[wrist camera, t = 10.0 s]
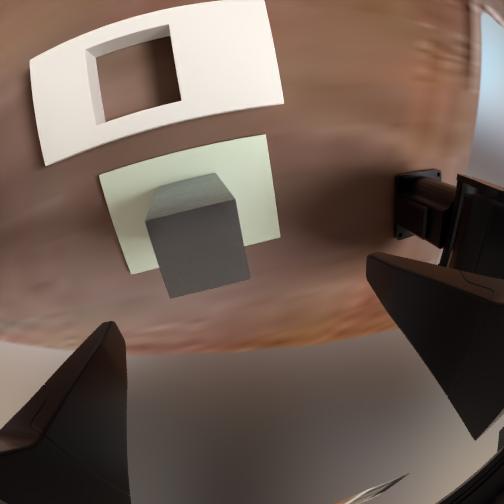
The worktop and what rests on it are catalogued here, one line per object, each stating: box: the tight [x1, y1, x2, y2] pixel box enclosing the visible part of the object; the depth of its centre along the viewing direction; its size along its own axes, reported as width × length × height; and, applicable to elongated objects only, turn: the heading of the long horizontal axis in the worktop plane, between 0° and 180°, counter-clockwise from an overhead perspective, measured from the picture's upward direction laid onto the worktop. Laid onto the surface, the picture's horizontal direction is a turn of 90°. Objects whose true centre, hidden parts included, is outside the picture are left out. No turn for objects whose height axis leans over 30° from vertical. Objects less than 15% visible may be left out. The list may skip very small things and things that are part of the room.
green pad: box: [99, 134, 280, 275], centre depth 20 cm, size 12×8×1 cm, turn 99°
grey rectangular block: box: [145, 173, 250, 298], centre depth 16 cm, size 4×4×8 cm
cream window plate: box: [30, 0, 284, 166], centre depth 15 cm, size 16×8×2 cm, turn 99°
